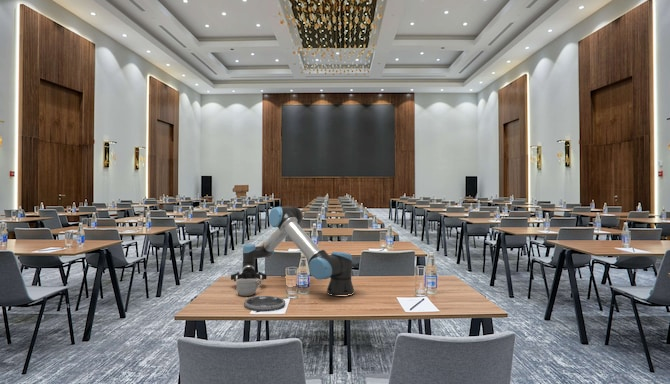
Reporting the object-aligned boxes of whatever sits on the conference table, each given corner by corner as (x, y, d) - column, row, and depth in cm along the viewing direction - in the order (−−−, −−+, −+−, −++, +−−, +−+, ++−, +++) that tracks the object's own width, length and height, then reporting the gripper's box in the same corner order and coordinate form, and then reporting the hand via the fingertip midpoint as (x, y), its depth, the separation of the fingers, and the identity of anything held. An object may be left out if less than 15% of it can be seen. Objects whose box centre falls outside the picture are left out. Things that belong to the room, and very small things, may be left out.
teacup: (239, 298, 217) (239, 283, 217) (233, 293, 226) (234, 278, 226) (264, 295, 223) (265, 280, 223) (258, 291, 233) (259, 276, 233)
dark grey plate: (291, 302, 212) (291, 298, 212) (274, 313, 193) (274, 309, 193) (256, 298, 218) (256, 294, 218) (236, 308, 199) (236, 304, 199)
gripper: (269, 278, 256) (271, 286, 235) (227, 278, 251) (225, 287, 230) (269, 266, 256) (271, 273, 235) (227, 266, 251) (226, 273, 230)
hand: (249, 280), depth 233 cm, fingers open, 13 cm apart
